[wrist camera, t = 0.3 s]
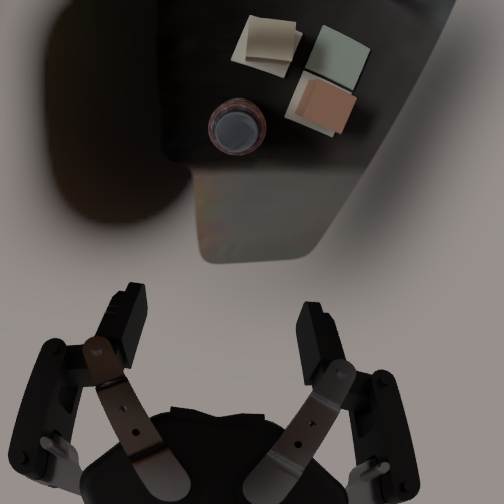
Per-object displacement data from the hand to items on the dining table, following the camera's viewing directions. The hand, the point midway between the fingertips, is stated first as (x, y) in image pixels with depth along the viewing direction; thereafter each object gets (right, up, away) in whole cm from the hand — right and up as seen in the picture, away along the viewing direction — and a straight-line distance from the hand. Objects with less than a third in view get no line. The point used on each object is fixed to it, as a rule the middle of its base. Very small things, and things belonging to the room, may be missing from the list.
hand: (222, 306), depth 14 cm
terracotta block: (+10, +22, +18) cm, 30 cm away
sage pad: (+13, +28, +15) cm, 34 cm away
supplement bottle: (0, +20, +20) cm, 28 cm away
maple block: (+3, +28, +14) cm, 31 cm away
